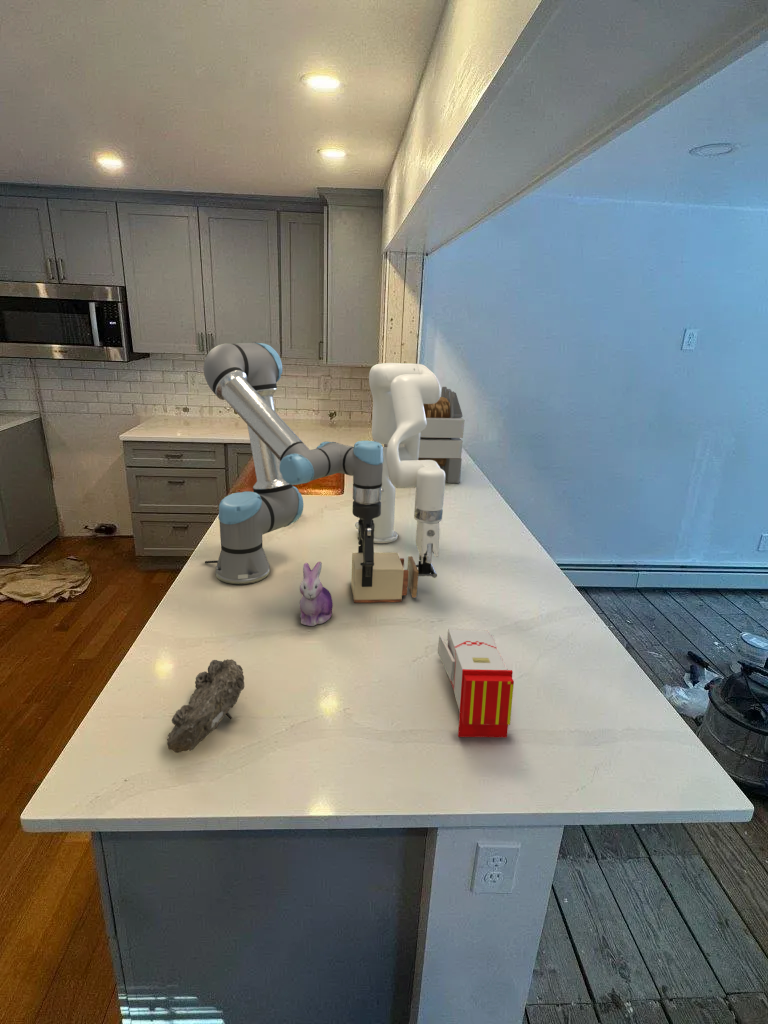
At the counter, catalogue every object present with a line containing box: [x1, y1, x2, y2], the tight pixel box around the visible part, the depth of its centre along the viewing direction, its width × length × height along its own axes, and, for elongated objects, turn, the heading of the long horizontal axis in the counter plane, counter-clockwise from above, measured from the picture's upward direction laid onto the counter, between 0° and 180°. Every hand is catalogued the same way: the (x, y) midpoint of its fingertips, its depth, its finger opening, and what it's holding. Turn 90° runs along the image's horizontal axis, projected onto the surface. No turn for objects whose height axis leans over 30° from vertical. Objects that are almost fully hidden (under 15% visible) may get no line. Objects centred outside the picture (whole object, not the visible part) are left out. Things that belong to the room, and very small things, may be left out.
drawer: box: [399, 555, 438, 598], centre depth 157 cm, size 17×10×8 cm, turn 97°
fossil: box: [166, 658, 245, 754], centre depth 106 cm, size 22×10×15 cm
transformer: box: [383, 386, 465, 484], centre depth 268 cm, size 34×33×41 cm
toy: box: [437, 628, 515, 738], centre depth 117 cm, size 12×13×30 cm
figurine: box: [299, 561, 334, 627], centre depth 141 cm, size 9×10×15 cm
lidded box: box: [350, 552, 405, 604], centre depth 156 cm, size 13×11×10 cm
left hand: (364, 576), depth 156 cm, fingers closed on lidded box, 11 cm apart
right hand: (423, 575), depth 158 cm, fingers closed
